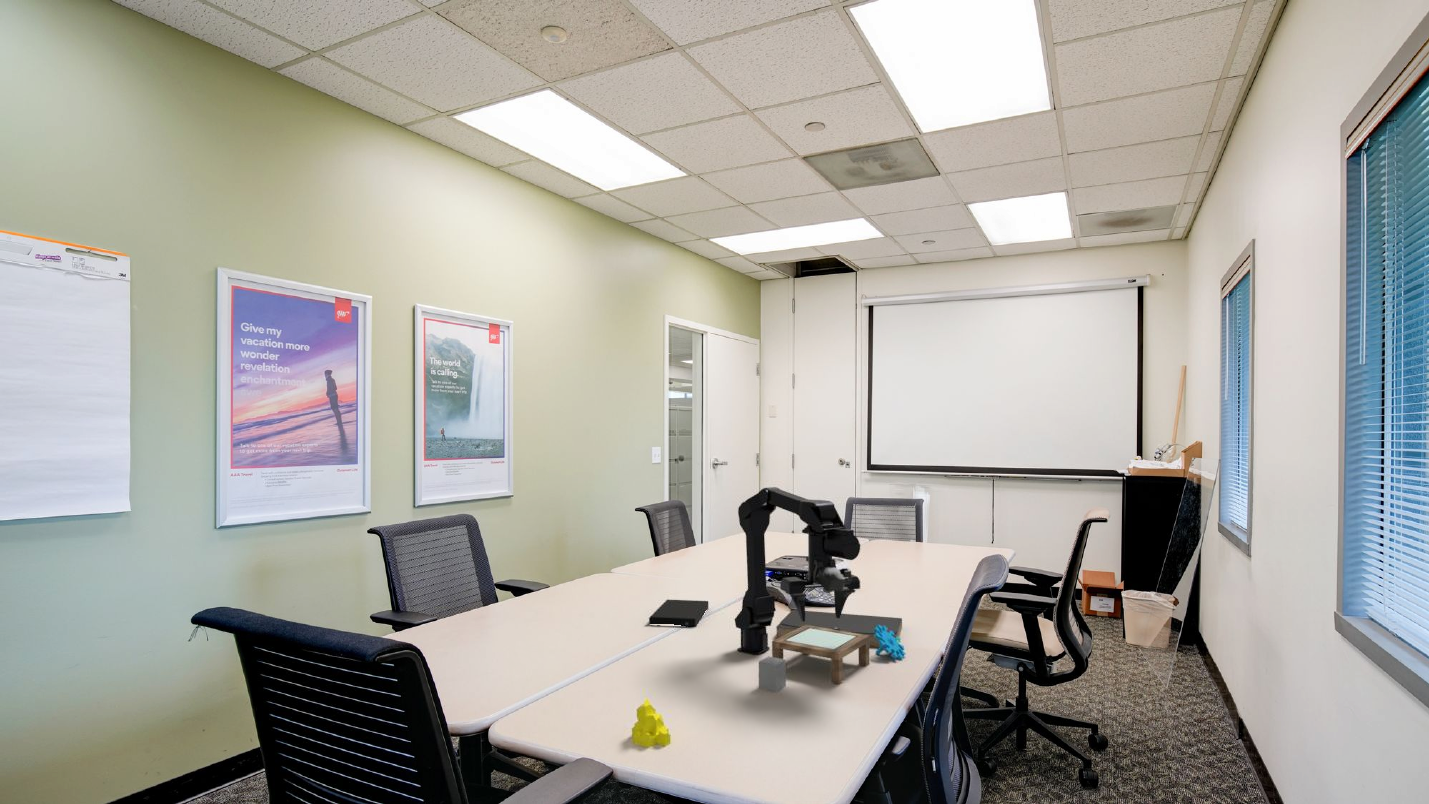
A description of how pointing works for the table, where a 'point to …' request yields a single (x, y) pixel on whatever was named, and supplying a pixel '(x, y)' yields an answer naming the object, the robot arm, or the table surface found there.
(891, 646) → the gear
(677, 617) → the external hard drive
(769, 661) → the stone block
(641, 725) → the yellow lumpy pyramid
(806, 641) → the trapdoor
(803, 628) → the frame
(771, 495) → the robot arm
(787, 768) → the table surface
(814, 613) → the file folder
